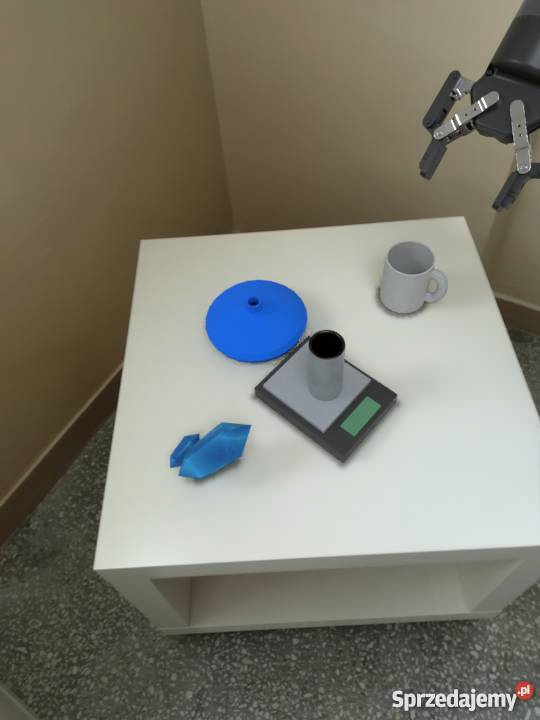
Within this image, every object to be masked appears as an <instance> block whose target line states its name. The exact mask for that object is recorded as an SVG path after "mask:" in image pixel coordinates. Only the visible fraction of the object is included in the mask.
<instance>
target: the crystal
mask: <svg viewBox="0 0 540 720" xmlns="http://www.w3.org/2000/svg"><path fill="white" fill-rule="evenodd" d="M251 428H252V424H246V423H245V424H244V423H237V422H236V423H234V422H226V421H225V422H224V421H221V422H220V423H219V424H217V425H216V426H215V427H214V428H212V429H211V430H210V431H209V432H207V433H206V434H205V435H204V436H202V437H200V436H201V435H200V433H193V434H188V435H184V436H183V437H182V439H181V440H180V442H179V443H178V444H177V446H176V447H175V449H174V450H173V451H172V453H171V454H170V455H169V469H173V468H178V467H179V468H180V469H179V471H178V473H177V476H178V477H184V478H190V479H197V480H203V479H204V478H206V477H208V476H210V475H211V474H213V473H215V472H217V471H219V470H221V469H223V468H225V467H227V466H229V465H231V464H234V463H235V462H236V460H237V459H239V458H241V457H242V456H243V454H244V450H245V447H246V444H247V441H248V437H249V434H250V432H251Z"/></svg>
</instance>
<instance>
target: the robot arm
mask: <svg viewBox="0 0 540 720" xmlns="http://www.w3.org/2000/svg"><path fill="white" fill-rule="evenodd" d="M467 95H469V97H470V105H469V106H467V107H466V108H464V109H463V110H461V111H459V112H458V113H456V114H454V116H453V117H452V119H450V120H448V121H447V122H445V121H446V119H447V117H448V116H449V114H450V112H451V110H452V109H453V108H454V106H455V104H456V102H460V101H461V100H463V99H464V97H466V96H467ZM444 122H445V123H444ZM421 124H422V126H423V127H424V128H425V129H426V130H427V132H428V133H429V134H430V136H431V139H430V142H429V144H428V146H427V148H426V150H425V151H424V154H423V155H422V157H421V159H420V161H419V165H418V169H419V170H420V172H419V176H420V177H422V178H423V179H425V180H427V181H430V180H432V178H433V176H434V175H435V173H436V171H437V169H438V167H439V165H440V164H441V162H442V160H443V158H444V156H445V154H446V153H447V151H448V146H447V145H449V144H451V143H453V142H454V141H457V140H458V139H460V138H461V137H465V136H468V135H470V134H471V133H473V132H475V131H476V132H477V133H478V134H479V135H480V136H483V137H485V138H494V139H495V140H496V141H498V142H499V143H501V144H503V145H506V146H507V145H508V144H509V145H510V144H513V147H514V152H515V161H516V169H515V171H511V172H510V174H509V176H508V178H507V179H506V181H505V182H504V184H503V186H502V187H501V189H500V191H499V192H498V194H497V196H496V198H495V199H494V201H493V203H492V205H491V209H492V210H493V211H495V212H497V213H502V212H503V210H504V209H506V210H509V209H511V207H513V206H514V204H515V202H516V201H517V199H518V196H520V193H521V192H522V190H523V189H524V187H525V186H526V184H527V183H528V182H529V181H531V180H535V179H536V180H540V162H533V151H532V141H531V134H533V133H535V132H537V131H538V130H540V0H522V2H521V4H520V5H519V8H518V10H517V12H516V14H515V15H514V17H513V19H512V21H511V22H510V24H509V27H508V28H507V30H506V31H505V34H504V35H503V37H502V39H501V40H500V43H499V45H498V47H497V49H496V50H495V52H494V54H493V56H492V58H491V60H490V61H489V63H488V65H487V67H486V70H485V71H484V73H483V74H482V76H481V77H480V78H478V80H476V81H474V80H472V79H468V78H467V77H464V76H462V74H461V72H460V71H459V70H457V69H455V70H452V71H450V72H449V74H448V76H447V78H446V79H445V81H444V83H443V85H442V86H441V88H440V90H439V91H438V93H437V94H436V96H435V98H434V99H433V101H432V103H431V105H430V107H429V108H428V110H427V111H426V113H425V115H424V117H423V119H422V121H421Z"/></svg>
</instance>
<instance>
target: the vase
mask: <svg viewBox="0 0 540 720" xmlns="http://www.w3.org/2000/svg"><path fill="white" fill-rule="evenodd" d="M307 324H308V312H307V307H306V305H305V303H304V301H303V300H302V298H301V297H300V296H299V295H298V294H297V292H296V291H294V290H293V289H291V288H290V287H288V286H286V285H285V284H283V283H278V282H276V281H273V280H265V279H252V280H245V281H243V282H238V283H236V284H234V285H232V286H230V287H228V288H226V289H225V290H223V291H222V292H221V293H220V294H219V295H217V296H216V297H215V298H214V300H213V301H212V303H211V304H210V305H209V307H208V309H207V311H206V315H205V331H206V334H207V337H208V340H209V341H210V342H211V344H212V345H213V346H214V348H215V349H216V350H217V351H219V352H220V353H221V354H223V355H224V356H225V357H227V358H228V359H231V360H234V361H237V362H240V363H245V364H263V363H268V362H271V361H274V360H277V359H280V358H281V357H283V356H285V355H286V354H288V353H290V352H291V351H292V350H293V349H294V348H295V347H296V346H297V345H298V343H299V341H300V340H301V338H302V337H303V334H304V333H305V331H306V328H307Z"/></svg>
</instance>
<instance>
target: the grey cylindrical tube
mask: <svg viewBox="0 0 540 720" xmlns="http://www.w3.org/2000/svg"><path fill="white" fill-rule="evenodd" d="M310 337H311V338H310V340H309V343H308V353H309V389H310V392H311V394H312V395H313V396H314V397H315V398H317V399H319V400H322V401H329V400H333V399H335V398H336V397H338V396H339V394H340V393H341V390H342V382H343V370H344V359H345V355H346V340H345V339H344V337H343V335H341V334H340V333H339V332H337V331H335V330H332V329H322V330H319V331H316V332H315V333H313V335H311V336H310Z"/></svg>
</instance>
